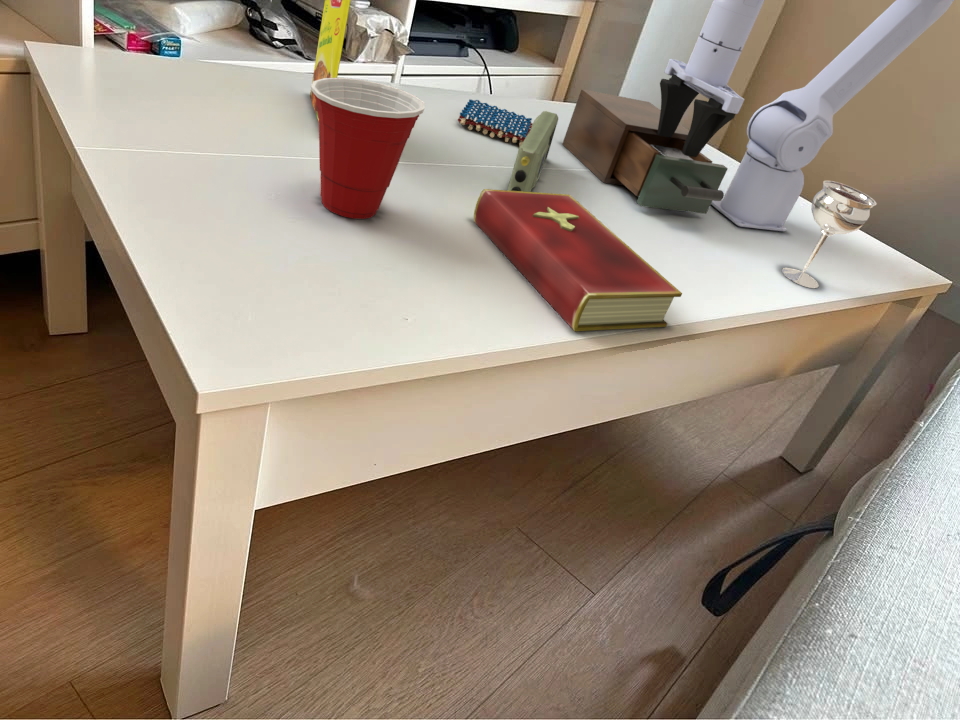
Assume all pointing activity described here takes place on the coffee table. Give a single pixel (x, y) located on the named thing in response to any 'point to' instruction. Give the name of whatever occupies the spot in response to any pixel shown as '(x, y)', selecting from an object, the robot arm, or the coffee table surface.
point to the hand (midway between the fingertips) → (676, 145)
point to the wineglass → (833, 220)
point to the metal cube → (670, 152)
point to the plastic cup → (360, 141)
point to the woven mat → (495, 121)
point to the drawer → (667, 175)
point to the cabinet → (609, 129)
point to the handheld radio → (533, 153)
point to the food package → (330, 42)
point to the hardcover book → (575, 260)
